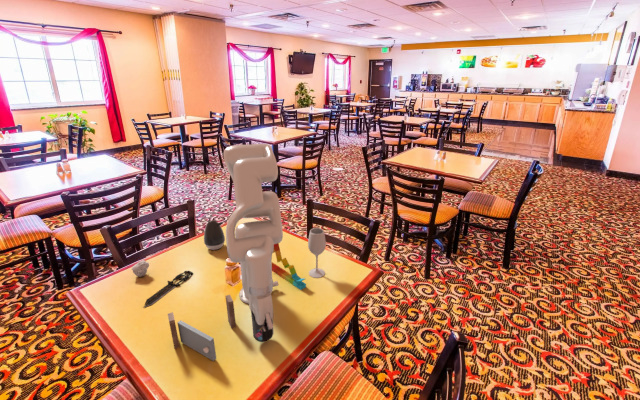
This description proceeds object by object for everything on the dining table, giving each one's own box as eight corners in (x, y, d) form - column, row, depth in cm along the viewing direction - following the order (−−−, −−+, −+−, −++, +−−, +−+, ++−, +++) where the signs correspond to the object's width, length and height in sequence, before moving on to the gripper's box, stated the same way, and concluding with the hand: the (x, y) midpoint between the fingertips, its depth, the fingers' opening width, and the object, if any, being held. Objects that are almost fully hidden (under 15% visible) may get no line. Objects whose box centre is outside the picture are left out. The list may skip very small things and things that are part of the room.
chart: (306, 287, 134) (306, 256, 129) (300, 290, 132) (300, 259, 127) (264, 259, 155) (262, 231, 149) (258, 262, 153) (256, 234, 147)
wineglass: (305, 275, 142) (305, 233, 134) (312, 267, 148) (312, 226, 141) (321, 279, 139) (321, 236, 132) (327, 270, 146) (328, 228, 138)
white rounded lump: (150, 277, 140) (147, 264, 137) (132, 281, 137) (128, 267, 135) (151, 270, 145) (149, 257, 143) (134, 273, 143) (131, 259, 140)
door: (178, 344, 104) (174, 324, 102) (184, 339, 106) (180, 320, 103) (210, 363, 97) (207, 343, 95) (216, 358, 99) (213, 338, 96)
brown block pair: (232, 319, 116) (229, 294, 112) (235, 326, 113) (233, 300, 109) (172, 340, 106) (167, 313, 103) (174, 348, 103) (169, 321, 99)
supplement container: (250, 342, 103) (248, 317, 99) (255, 326, 109) (254, 302, 105) (271, 343, 103) (270, 318, 98) (275, 327, 109) (274, 303, 105)
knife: (146, 310, 121) (145, 307, 120) (134, 305, 124) (134, 302, 123) (196, 275, 142) (196, 272, 142) (186, 271, 145) (185, 269, 144)
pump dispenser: (222, 252, 160) (219, 224, 155) (202, 252, 160) (198, 224, 155) (228, 242, 170) (225, 216, 165) (208, 242, 170) (205, 216, 165)
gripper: (239, 274, 103) (243, 317, 110) (258, 307, 89) (261, 354, 96) (261, 267, 107) (264, 309, 114) (282, 298, 93) (284, 344, 100)
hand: (263, 329), depth 105 cm, fingers closed on supplement container, 6 cm apart
